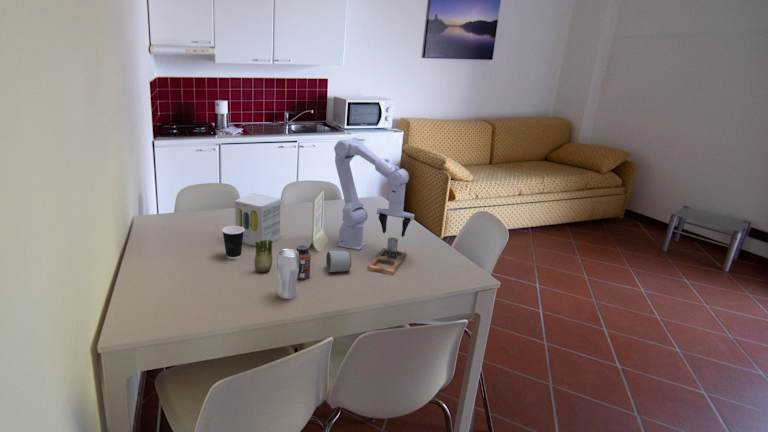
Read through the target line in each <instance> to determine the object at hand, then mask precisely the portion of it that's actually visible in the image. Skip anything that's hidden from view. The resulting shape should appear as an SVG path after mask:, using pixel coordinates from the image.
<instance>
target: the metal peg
mask: <svg viewBox="0 0 768 432" xmlns="http://www.w3.org/2000/svg"><path fill="white" fill-rule="evenodd" d="M398 244H399V238H396V237H388V238H387V246H386V248H387V253H386V256H385V257H388V258H394V259H398V258H397V251H398V246H399V245H398Z"/></svg>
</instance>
